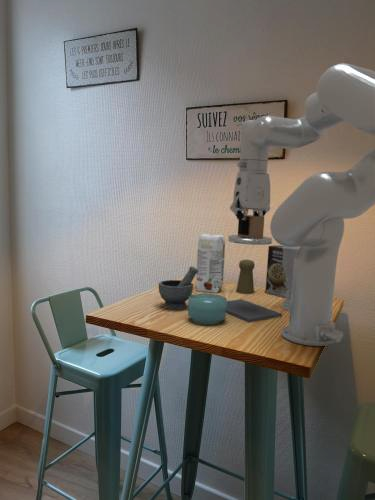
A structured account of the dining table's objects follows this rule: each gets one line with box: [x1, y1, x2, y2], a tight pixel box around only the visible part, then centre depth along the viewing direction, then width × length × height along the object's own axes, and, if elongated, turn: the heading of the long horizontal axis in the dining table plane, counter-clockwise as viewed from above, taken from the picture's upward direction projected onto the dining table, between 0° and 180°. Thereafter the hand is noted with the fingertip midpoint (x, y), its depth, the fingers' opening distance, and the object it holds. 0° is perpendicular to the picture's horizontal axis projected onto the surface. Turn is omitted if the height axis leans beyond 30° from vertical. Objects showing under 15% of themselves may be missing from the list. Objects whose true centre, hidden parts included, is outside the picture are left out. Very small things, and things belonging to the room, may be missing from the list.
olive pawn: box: [236, 259, 255, 295], centre depth 146 cm, size 6×6×11 cm
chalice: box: [280, 246, 300, 311], centre depth 128 cm, size 7×7×18 cm
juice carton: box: [195, 233, 226, 294], centre depth 145 cm, size 8×9×19 cm
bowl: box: [187, 293, 228, 326], centre depth 113 cm, size 10×10×6 cm
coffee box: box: [265, 244, 290, 299], centre depth 144 cm, size 9×6×16 cm
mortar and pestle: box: [158, 266, 198, 311], centre depth 124 cm, size 11×9×12 cm
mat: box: [226, 299, 283, 323], centre depth 123 cm, size 17×12×1 cm
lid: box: [227, 214, 273, 246], centre depth 119 cm, size 12×12×7 cm
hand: (248, 233), depth 120 cm, fingers closed on lid, 4 cm apart
